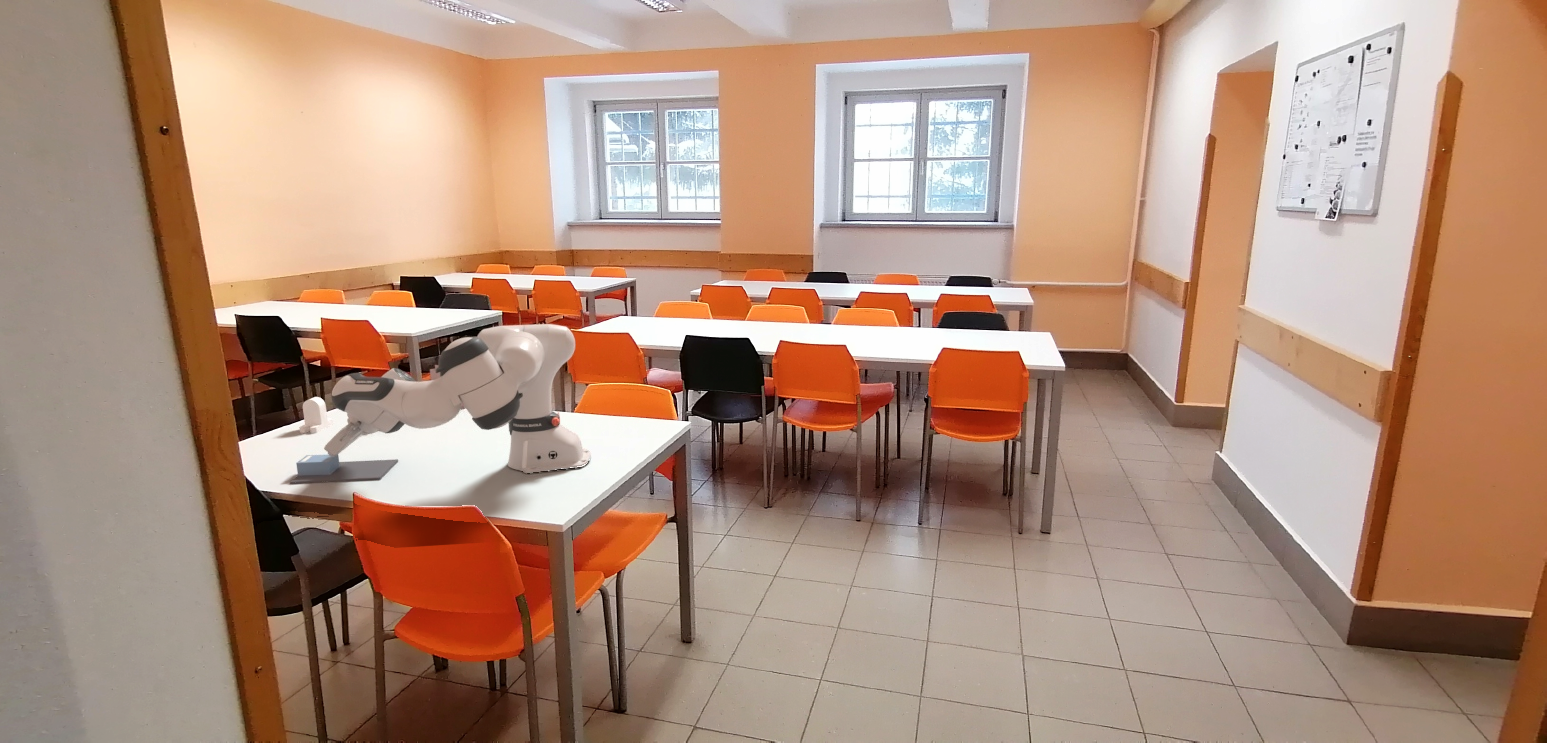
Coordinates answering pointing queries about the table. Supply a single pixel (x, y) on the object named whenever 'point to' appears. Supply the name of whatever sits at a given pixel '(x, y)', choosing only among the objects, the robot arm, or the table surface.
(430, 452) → the table surface
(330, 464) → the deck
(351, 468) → the mat
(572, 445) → the robot arm
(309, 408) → the cable organizer
